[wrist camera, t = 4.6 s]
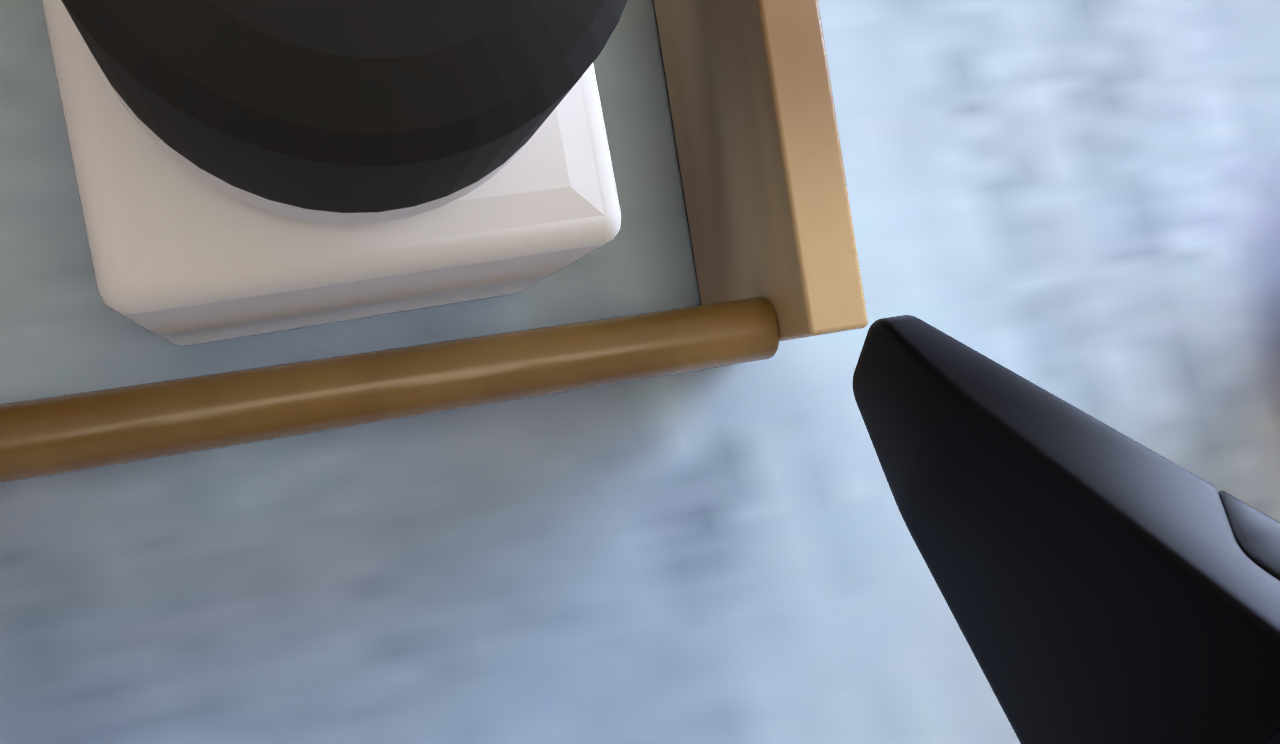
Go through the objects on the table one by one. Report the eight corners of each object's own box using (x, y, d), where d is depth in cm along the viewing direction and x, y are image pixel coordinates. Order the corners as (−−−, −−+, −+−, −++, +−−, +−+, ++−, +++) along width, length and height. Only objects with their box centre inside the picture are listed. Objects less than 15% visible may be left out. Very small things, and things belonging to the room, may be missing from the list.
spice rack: (758, 357, 24) (1183, 302, 12) (-133, 502, 18) (-844, 639, 7) (679, -149, 24) (1033, -678, 12) (-239, -152, 18) (-1133, -1095, 7)
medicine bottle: (530, 292, 22) (776, 160, 11) (167, 350, 20) (-12, 262, 9) (468, -44, 22) (648, -539, 11) (95, -22, 20) (-184, -618, 8)
